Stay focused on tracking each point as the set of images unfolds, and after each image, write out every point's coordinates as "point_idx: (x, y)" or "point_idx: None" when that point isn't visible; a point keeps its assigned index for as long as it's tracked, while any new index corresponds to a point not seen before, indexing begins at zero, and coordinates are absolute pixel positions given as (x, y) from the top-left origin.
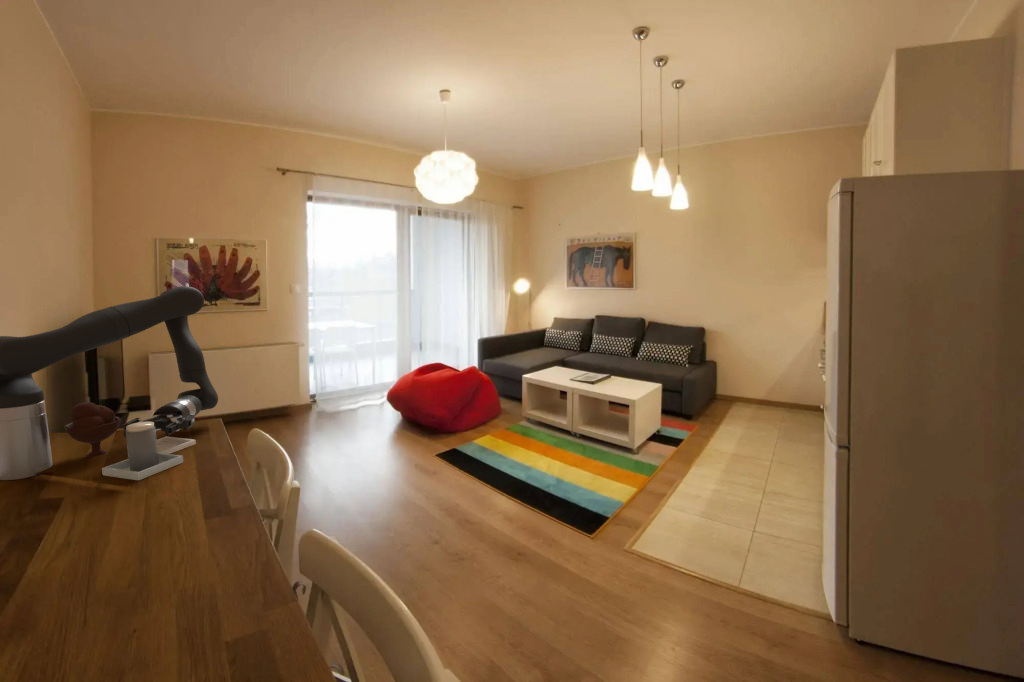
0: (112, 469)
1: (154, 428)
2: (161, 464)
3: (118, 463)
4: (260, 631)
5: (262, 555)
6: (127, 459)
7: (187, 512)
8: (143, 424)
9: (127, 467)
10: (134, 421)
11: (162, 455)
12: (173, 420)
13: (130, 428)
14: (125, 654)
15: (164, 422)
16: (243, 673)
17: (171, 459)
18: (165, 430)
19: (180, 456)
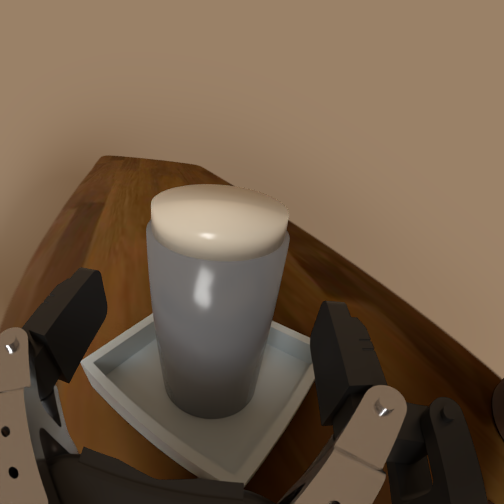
0: (287, 328)
1: (150, 224)
2: (145, 319)
3: (304, 378)
4: (111, 160)
5: (89, 176)
6: (291, 406)
7: (117, 213)
8: (204, 202)
9: (279, 406)
10: (446, 500)
11: (156, 423)
12: (16, 386)
13: (246, 189)
14: (158, 162)
15: (96, 455)
16: (122, 156)
17: (116, 343)
18: (101, 283)
19: (87, 358)
